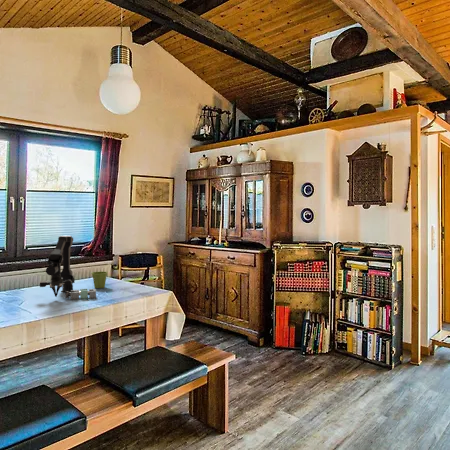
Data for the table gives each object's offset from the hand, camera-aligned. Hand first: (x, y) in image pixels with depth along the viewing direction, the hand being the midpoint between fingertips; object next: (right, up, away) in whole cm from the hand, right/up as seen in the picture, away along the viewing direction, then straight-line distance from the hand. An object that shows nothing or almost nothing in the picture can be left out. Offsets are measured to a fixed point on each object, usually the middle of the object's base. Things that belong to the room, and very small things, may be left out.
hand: (56, 296), depth 250 cm
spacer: (+16, -2, +6) cm, 17 cm away
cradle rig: (+15, -2, +6) cm, 17 cm away
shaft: (+13, -1, +5) cm, 14 cm away
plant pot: (+15, -1, +40) cm, 42 cm away
